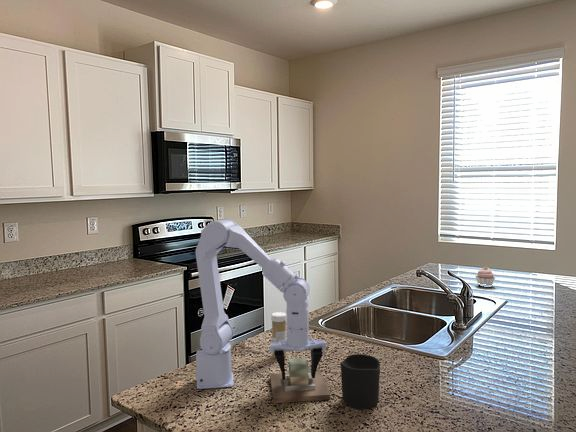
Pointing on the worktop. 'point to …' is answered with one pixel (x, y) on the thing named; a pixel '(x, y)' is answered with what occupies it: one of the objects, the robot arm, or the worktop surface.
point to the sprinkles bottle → (278, 328)
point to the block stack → (298, 371)
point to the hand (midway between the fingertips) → (298, 377)
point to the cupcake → (485, 276)
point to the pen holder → (360, 381)
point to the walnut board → (298, 389)
